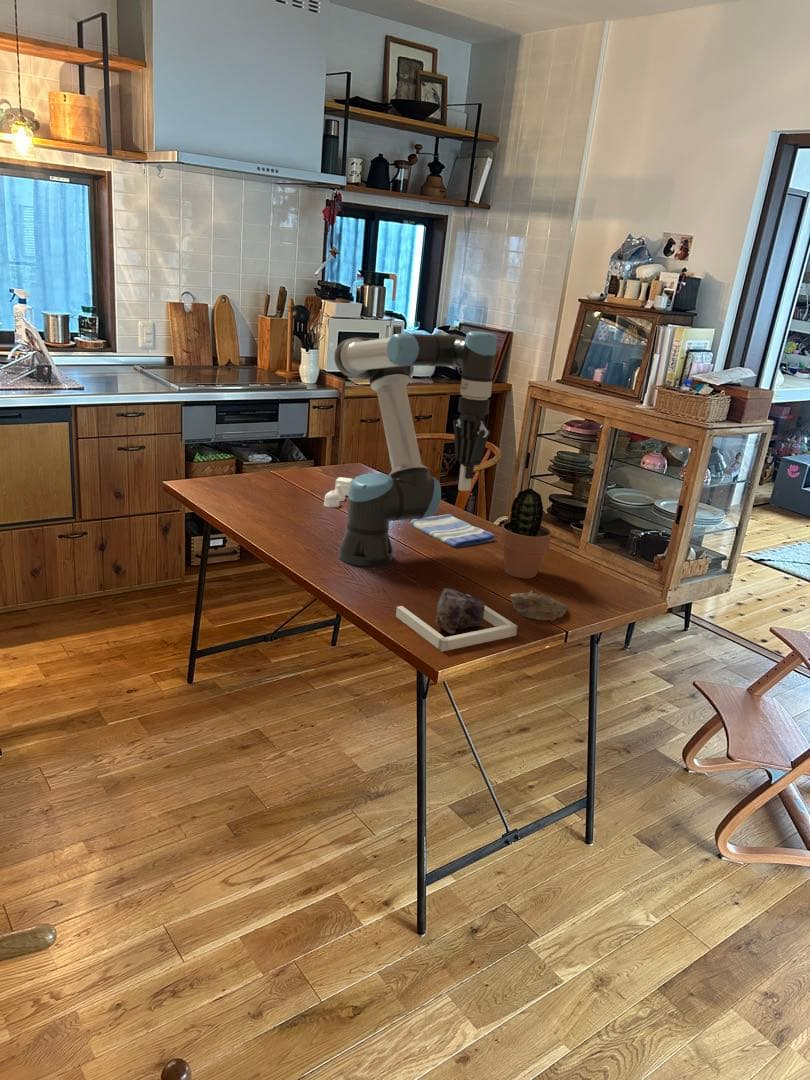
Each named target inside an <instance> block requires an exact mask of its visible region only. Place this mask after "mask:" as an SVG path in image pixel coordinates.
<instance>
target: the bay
mask: <svg viewBox="0 0 810 1080" xmlns="http://www.w3.org/2000/svg"><path fill="white" fill-rule="evenodd" d="M466 595H469V596H471V595H470V594H466ZM484 609H485V611H484V616H483V620H485V621H486V622H488V623H489V624H491V625H492V626H493V627H489V628H484V629H479V630H475V631H474V630H473V631H470V632H469V631H468V632H466V633H465V632H464V633H461V634H456V635H455V634H453V635H450V636H443V634H441V633H439V632H438V631H437V630H436V629H434V628H433V627H432V626H430V625H429V624H428V623H426V622H425V621H423V620H422V619H420V617H418V616H416V615H415V614H414V613H412V612H411V611H410V610H408V609H407V608H406V607H404V606H403V605H399V606H396V610H395V617H396V618H397V619H399V620H400V621H402V622H403V623H404V624H405V625H406V626H408V627H409V628H410V629H412V630H413V631H414V632H415V633H417V634H418V635H419V636H421V637H422V638H423V639H424V640H426V641H427V642H429V643H430V644H431V645H433V647H435V648H436V649H438V650H439V651H440V652H442V653H443V652H447V651H450V650H456V649H461V648H466V647H469V646H474V645H479V644H485V643H488V642H494V641H498V640H503V639H507V638H511V637H515V636H517V632H518V625H517V624H515V623H513V622H512V621H510V620H509V619H507V618H506V617H504V616H503V615H501V614H499V613H498V612H496V611H495V610H493V609H491V608H490V607H488V606H487V605H485V608H484Z"/></svg>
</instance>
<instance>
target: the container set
mask: <svg viewBox="0 0 810 1080" xmlns="http://www.w3.org/2000/svg"><path fill="white" fill-rule="evenodd" d="M353 479H354V478H349V477H344V476H343V477H342V476H339V477H337V479H335V483H334V484H335V485H334V490H330V491H328V492H327V493H326V494H325V495H324V502H323V506H324V507H326V508H331V509H333V508H338V507H340V502H344V501H345V500H346V497H348V494H349V489H350V484H351V481H352V480H353Z"/></svg>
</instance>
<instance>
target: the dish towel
mask: <svg viewBox="0 0 810 1080" xmlns="http://www.w3.org/2000/svg"><path fill="white" fill-rule="evenodd" d="M410 526H411V527H413V528H415V529H417V530H419V531H420V532H422V533H424V534H426V535H427V536H429V537H431V538H435V539H436V540H438V541H440V542H442V543H444V544H446V545H448V546H450V547H453V548H460V547H468V546H469V547H470V546H474V545H481V544H485V543H492V542H495V540H494V539H495V538H496V537H495V534H494V533H492V532H489V531H487V530H484V529H482V528H480V527H478V526H473V525H471V524H470V523H468V522H466V521H465V520H462V519H459V518H457V517H455V516H454V515H453V514H452V513H447V514H441V515H440V514H439V515H435V516H434V515H432V516H430V517H427V518H421V519H411V521H410Z"/></svg>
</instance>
